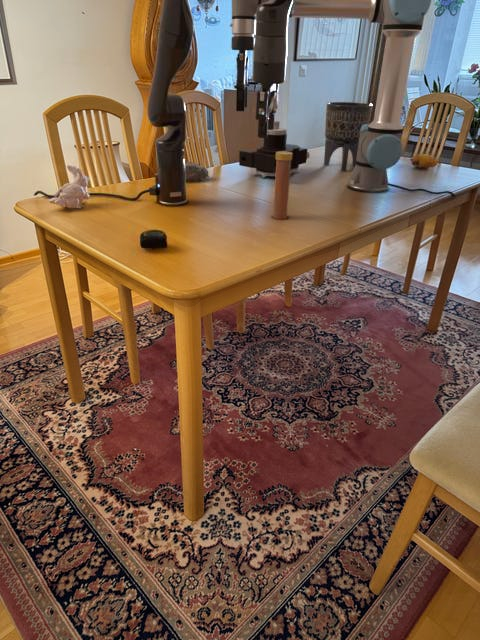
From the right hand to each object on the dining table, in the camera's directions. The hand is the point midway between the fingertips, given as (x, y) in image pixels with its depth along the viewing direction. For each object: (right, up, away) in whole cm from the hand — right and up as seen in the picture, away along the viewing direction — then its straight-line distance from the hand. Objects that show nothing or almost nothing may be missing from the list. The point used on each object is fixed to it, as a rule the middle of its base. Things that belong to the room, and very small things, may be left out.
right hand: (241, 109), depth 155 cm
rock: (-19, -15, +28) cm, 38 cm away
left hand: (+6, -26, -42) cm, 50 cm away
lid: (+12, -23, -22) cm, 34 cm away
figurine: (-55, -35, -7) cm, 66 cm away
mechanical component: (+17, -9, +42) cm, 46 cm away
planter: (+47, -1, +56) cm, 73 cm away
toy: (+86, 0, +59) cm, 104 cm away
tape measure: (-23, -54, -37) cm, 69 cm away
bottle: (+12, -40, -12) cm, 43 cm away
